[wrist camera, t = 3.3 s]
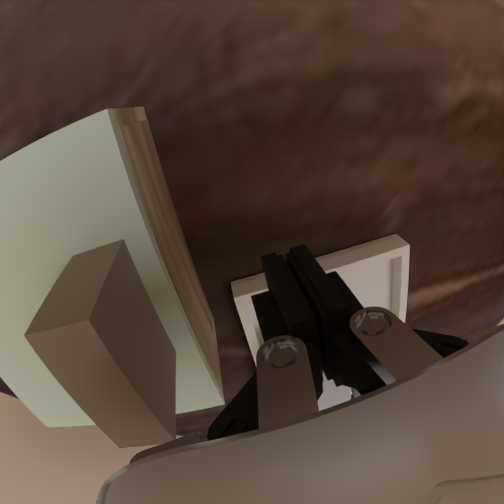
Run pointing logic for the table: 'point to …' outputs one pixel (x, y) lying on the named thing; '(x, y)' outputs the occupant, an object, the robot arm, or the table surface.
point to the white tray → (353, 274)
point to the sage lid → (91, 294)
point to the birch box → (167, 228)
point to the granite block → (333, 394)
